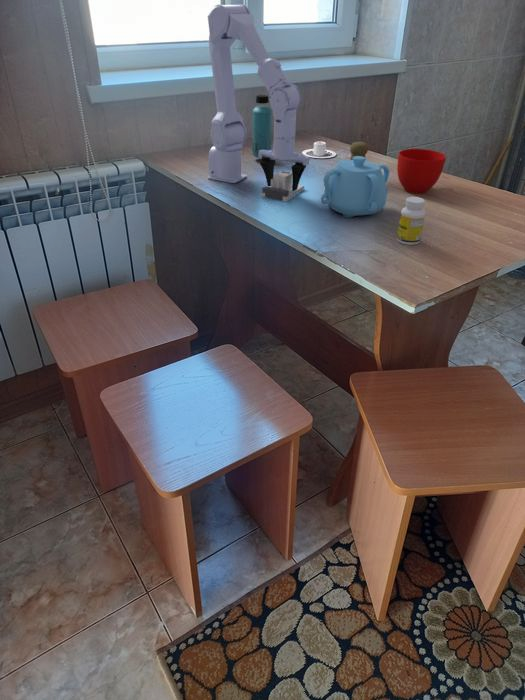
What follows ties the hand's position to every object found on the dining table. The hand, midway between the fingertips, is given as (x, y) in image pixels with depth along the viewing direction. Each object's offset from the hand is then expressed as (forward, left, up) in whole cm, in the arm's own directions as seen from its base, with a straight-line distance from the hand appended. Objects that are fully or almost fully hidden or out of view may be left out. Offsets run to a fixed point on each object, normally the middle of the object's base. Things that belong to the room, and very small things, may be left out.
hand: (282, 187), depth 144 cm
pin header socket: (0, 0, -2) cm, 2 cm away
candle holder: (-7, +45, -2) cm, 45 cm away
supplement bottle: (+40, -15, -2) cm, 43 cm away
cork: (+14, +23, -2) cm, 27 cm away
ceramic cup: (+33, +25, -2) cm, 41 cm away
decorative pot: (+22, -2, -2) cm, 22 cm away
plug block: (0, 0, -2) cm, 2 cm away
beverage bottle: (-21, +28, -2) cm, 35 cm away
